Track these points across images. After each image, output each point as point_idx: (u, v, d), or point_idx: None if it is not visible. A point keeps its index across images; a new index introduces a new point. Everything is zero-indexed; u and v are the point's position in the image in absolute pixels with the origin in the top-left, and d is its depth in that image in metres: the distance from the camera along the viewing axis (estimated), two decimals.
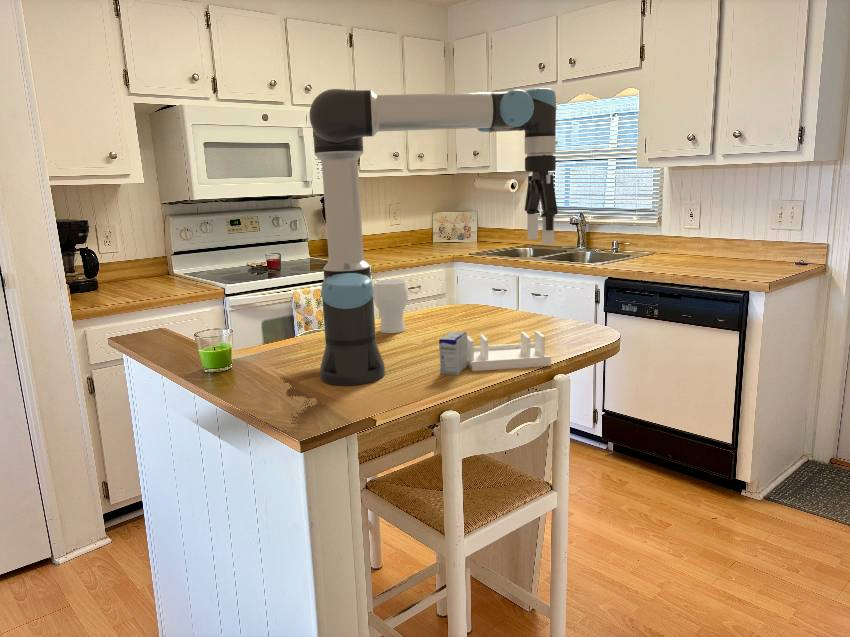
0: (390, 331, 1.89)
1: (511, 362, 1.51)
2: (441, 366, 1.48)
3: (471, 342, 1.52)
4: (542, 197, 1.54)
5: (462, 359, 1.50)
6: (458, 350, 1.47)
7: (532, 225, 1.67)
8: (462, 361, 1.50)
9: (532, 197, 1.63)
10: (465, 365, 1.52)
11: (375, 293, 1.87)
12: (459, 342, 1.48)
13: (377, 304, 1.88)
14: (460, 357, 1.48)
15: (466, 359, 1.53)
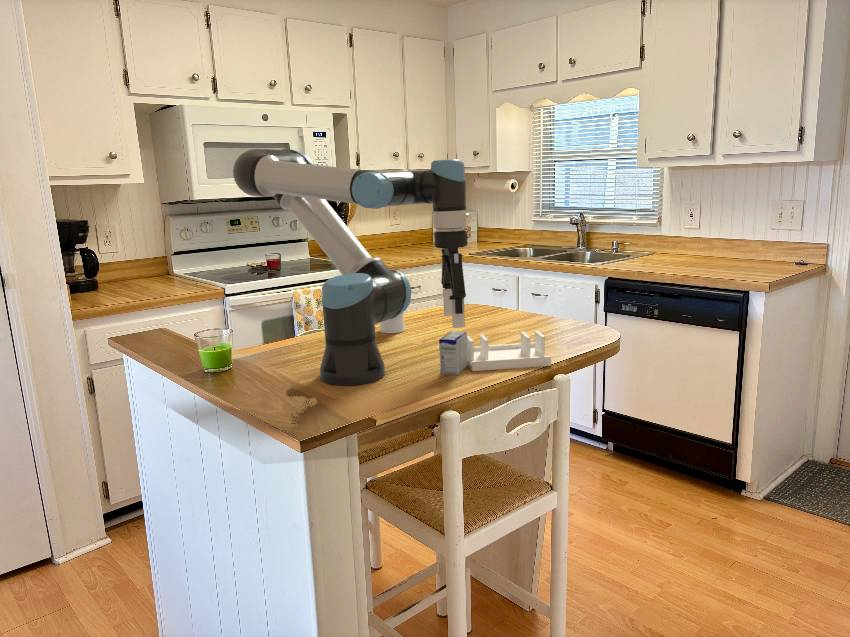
0: (390, 331, 1.89)
1: (511, 362, 1.51)
2: (441, 366, 1.48)
3: (471, 342, 1.52)
4: (451, 277, 1.41)
5: (462, 359, 1.50)
6: (458, 350, 1.47)
7: (448, 301, 1.54)
8: (462, 361, 1.50)
9: (446, 272, 1.50)
10: (465, 365, 1.52)
11: None
12: (459, 342, 1.48)
13: None
14: (460, 357, 1.48)
15: (466, 359, 1.53)
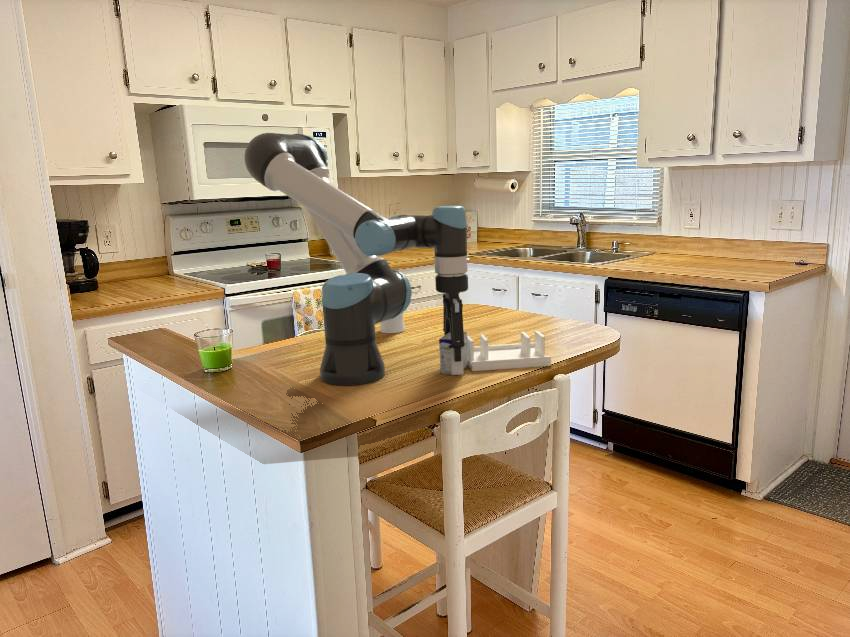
0: (390, 331, 1.89)
1: (511, 362, 1.51)
2: (441, 366, 1.48)
3: (471, 342, 1.52)
4: (451, 324, 1.45)
5: None
6: None
7: None
8: None
9: (447, 317, 1.51)
10: (465, 365, 1.52)
11: None
12: None
13: None
14: None
15: (466, 359, 1.53)
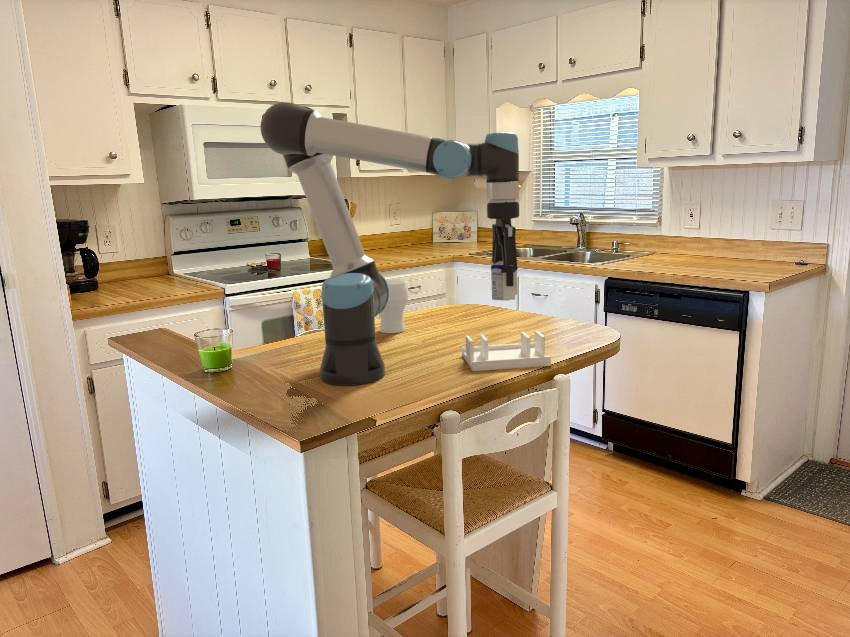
0: (390, 331, 1.89)
1: (511, 362, 1.51)
2: (493, 292, 1.51)
3: (471, 342, 1.52)
4: (503, 249, 1.47)
5: None
6: None
7: None
8: None
9: (497, 246, 1.54)
10: (515, 293, 1.55)
11: None
12: None
13: None
14: None
15: (516, 287, 1.55)
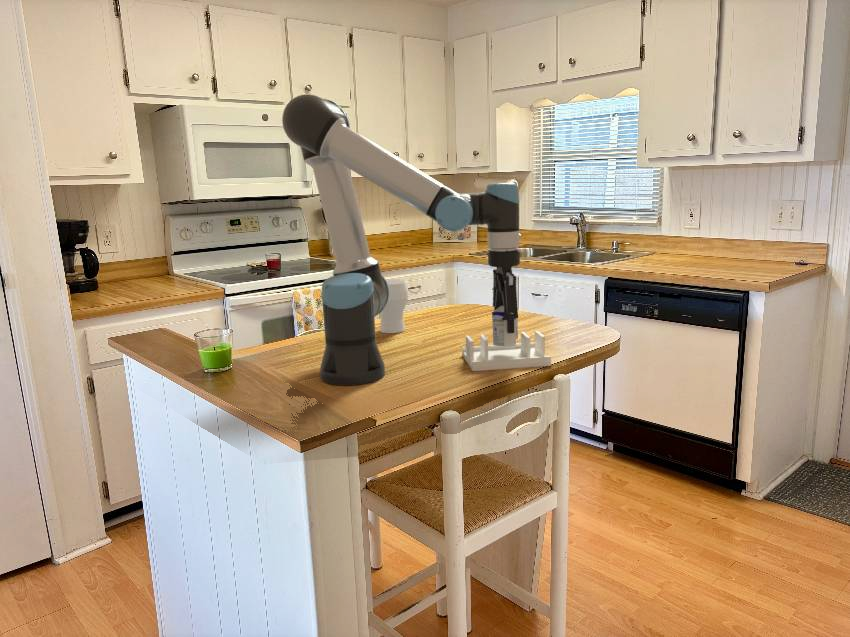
0: (390, 331, 1.89)
1: (511, 362, 1.51)
2: (494, 338, 1.53)
3: (471, 342, 1.52)
4: (504, 297, 1.50)
5: None
6: None
7: None
8: None
9: (498, 292, 1.57)
10: (516, 337, 1.57)
11: None
12: None
13: None
14: None
15: (516, 332, 1.58)
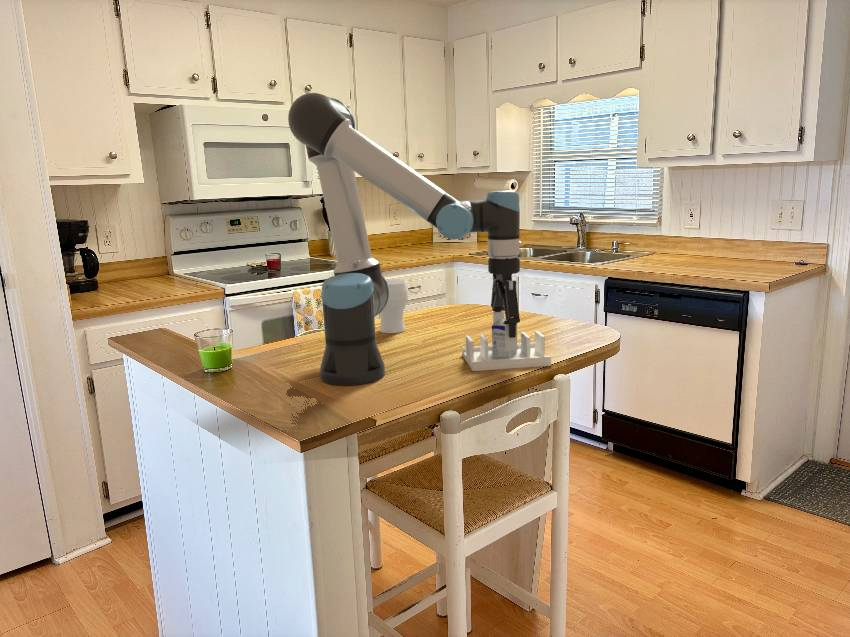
0: (390, 331, 1.89)
1: (511, 362, 1.51)
2: (493, 351, 1.54)
3: (471, 342, 1.52)
4: (505, 302, 1.49)
5: None
6: None
7: None
8: None
9: (497, 296, 1.58)
10: (515, 351, 1.58)
11: None
12: None
13: None
14: None
15: None
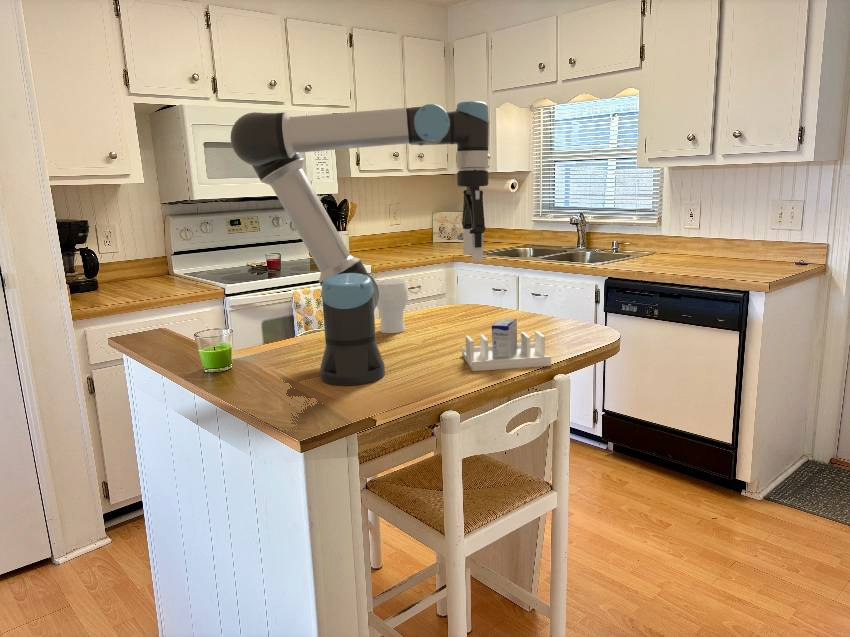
0: (390, 331, 1.89)
1: (511, 362, 1.51)
2: (493, 351, 1.54)
3: (471, 342, 1.52)
4: (472, 213, 1.50)
5: (513, 345, 1.56)
6: (510, 336, 1.53)
7: (468, 240, 1.63)
8: (512, 347, 1.56)
9: (466, 212, 1.59)
10: (515, 351, 1.58)
11: None
12: (511, 329, 1.54)
13: (377, 304, 1.88)
14: (511, 343, 1.54)
15: (516, 345, 1.59)
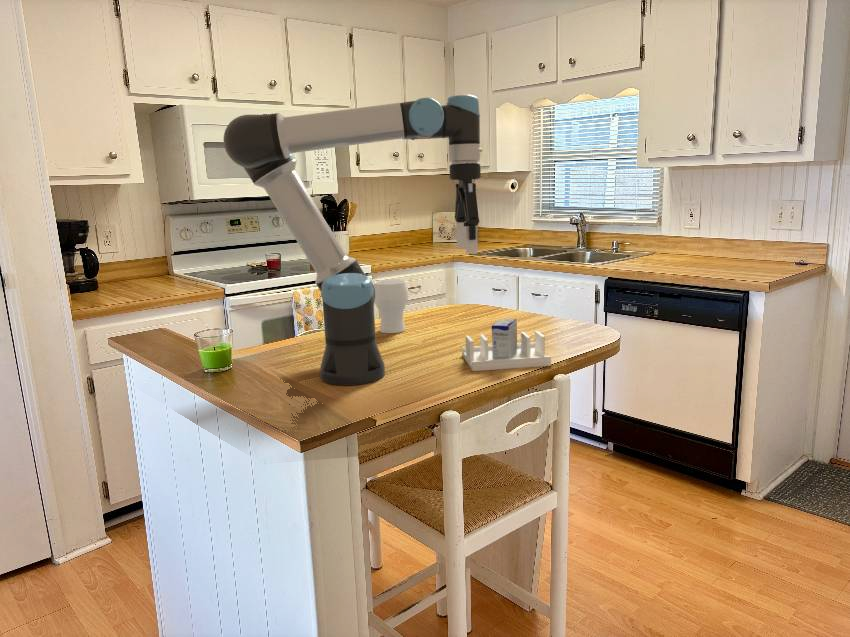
0: (390, 331, 1.89)
1: (511, 362, 1.51)
2: (493, 351, 1.54)
3: (471, 342, 1.52)
4: (465, 206, 1.51)
5: (513, 345, 1.56)
6: (510, 336, 1.53)
7: (461, 234, 1.64)
8: (512, 347, 1.56)
9: (459, 205, 1.60)
10: (515, 351, 1.58)
11: (375, 293, 1.87)
12: (511, 329, 1.54)
13: (377, 304, 1.88)
14: (511, 343, 1.54)
15: (516, 345, 1.59)
